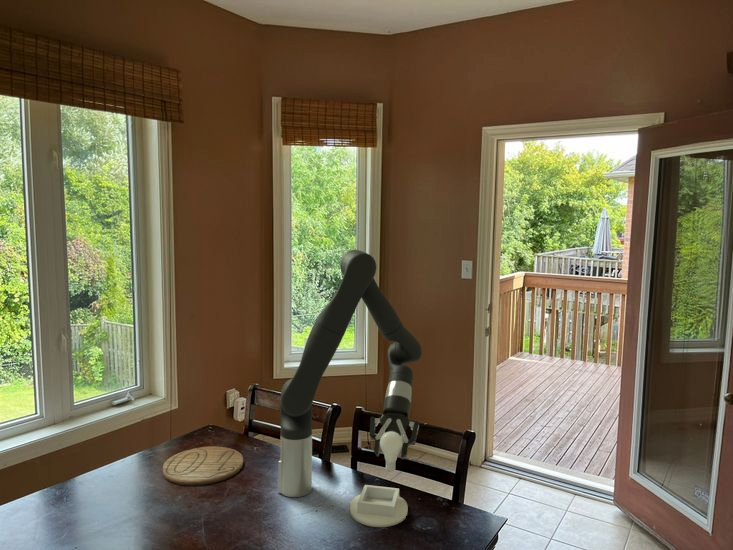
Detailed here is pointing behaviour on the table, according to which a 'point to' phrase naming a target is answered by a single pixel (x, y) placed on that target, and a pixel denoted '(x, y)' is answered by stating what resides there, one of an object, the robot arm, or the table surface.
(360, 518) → the lamp base
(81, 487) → the table surface
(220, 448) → the trivet
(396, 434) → the lightbulb
